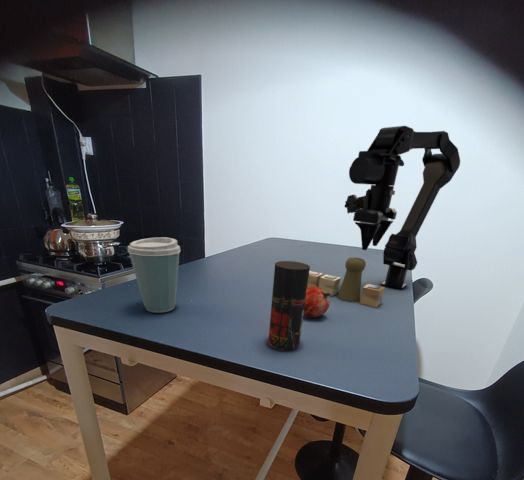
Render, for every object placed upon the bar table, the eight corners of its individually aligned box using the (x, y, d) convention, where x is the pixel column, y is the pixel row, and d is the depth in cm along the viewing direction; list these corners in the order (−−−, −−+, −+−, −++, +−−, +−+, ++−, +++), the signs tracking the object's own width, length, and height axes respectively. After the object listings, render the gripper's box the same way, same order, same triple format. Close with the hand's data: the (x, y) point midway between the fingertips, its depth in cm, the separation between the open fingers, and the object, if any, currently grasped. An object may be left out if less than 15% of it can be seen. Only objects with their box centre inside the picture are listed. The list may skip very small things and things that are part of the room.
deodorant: (266, 336, 63) (273, 260, 56) (296, 337, 64) (305, 262, 57) (269, 350, 58) (277, 268, 51) (301, 351, 58) (313, 270, 51)
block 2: (324, 289, 95) (326, 273, 92) (338, 292, 92) (341, 277, 90) (317, 292, 91) (320, 276, 89) (331, 296, 89) (334, 279, 87)
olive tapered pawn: (360, 302, 86) (369, 261, 81) (338, 299, 87) (345, 259, 81) (359, 296, 91) (367, 257, 86) (337, 293, 92) (344, 254, 87)
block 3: (364, 299, 89) (368, 283, 86) (380, 303, 86) (385, 286, 84) (359, 303, 85) (363, 286, 83) (375, 307, 83) (380, 290, 81)
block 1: (307, 285, 97) (309, 270, 95) (321, 288, 95) (323, 273, 93) (300, 288, 94) (302, 272, 92) (314, 291, 92) (316, 275, 89)
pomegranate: (290, 325, 74) (322, 311, 67) (282, 296, 75) (312, 278, 67) (311, 322, 79) (343, 308, 72) (303, 294, 80) (333, 278, 72)
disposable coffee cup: (151, 320, 66) (143, 246, 59) (125, 306, 72) (116, 237, 65) (192, 309, 73) (190, 242, 66) (166, 297, 79) (161, 234, 72)
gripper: (363, 184, 92) (353, 240, 100) (339, 182, 79) (329, 247, 86) (403, 186, 87) (389, 245, 95) (384, 185, 73) (369, 254, 81)
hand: (369, 247), depth 89 cm, fingers open, 9 cm apart
